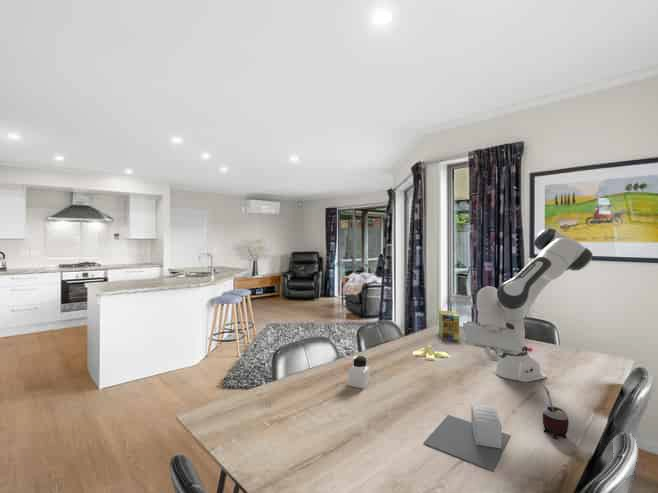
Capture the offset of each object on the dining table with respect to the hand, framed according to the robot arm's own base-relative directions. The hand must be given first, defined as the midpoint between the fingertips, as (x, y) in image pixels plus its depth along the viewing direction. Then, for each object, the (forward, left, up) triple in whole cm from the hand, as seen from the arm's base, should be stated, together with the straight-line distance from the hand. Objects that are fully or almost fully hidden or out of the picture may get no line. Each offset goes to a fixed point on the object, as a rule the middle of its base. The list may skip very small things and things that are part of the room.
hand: (493, 360), depth 122 cm
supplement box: (+8, +6, -16) cm, 19 cm away
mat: (+18, +12, -20) cm, 29 cm away
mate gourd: (-12, +14, -20) cm, 27 cm away
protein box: (-40, -96, -20) cm, 106 cm away
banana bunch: (-9, -65, -21) cm, 69 cm away
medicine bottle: (+40, -34, -20) cm, 56 cm away
